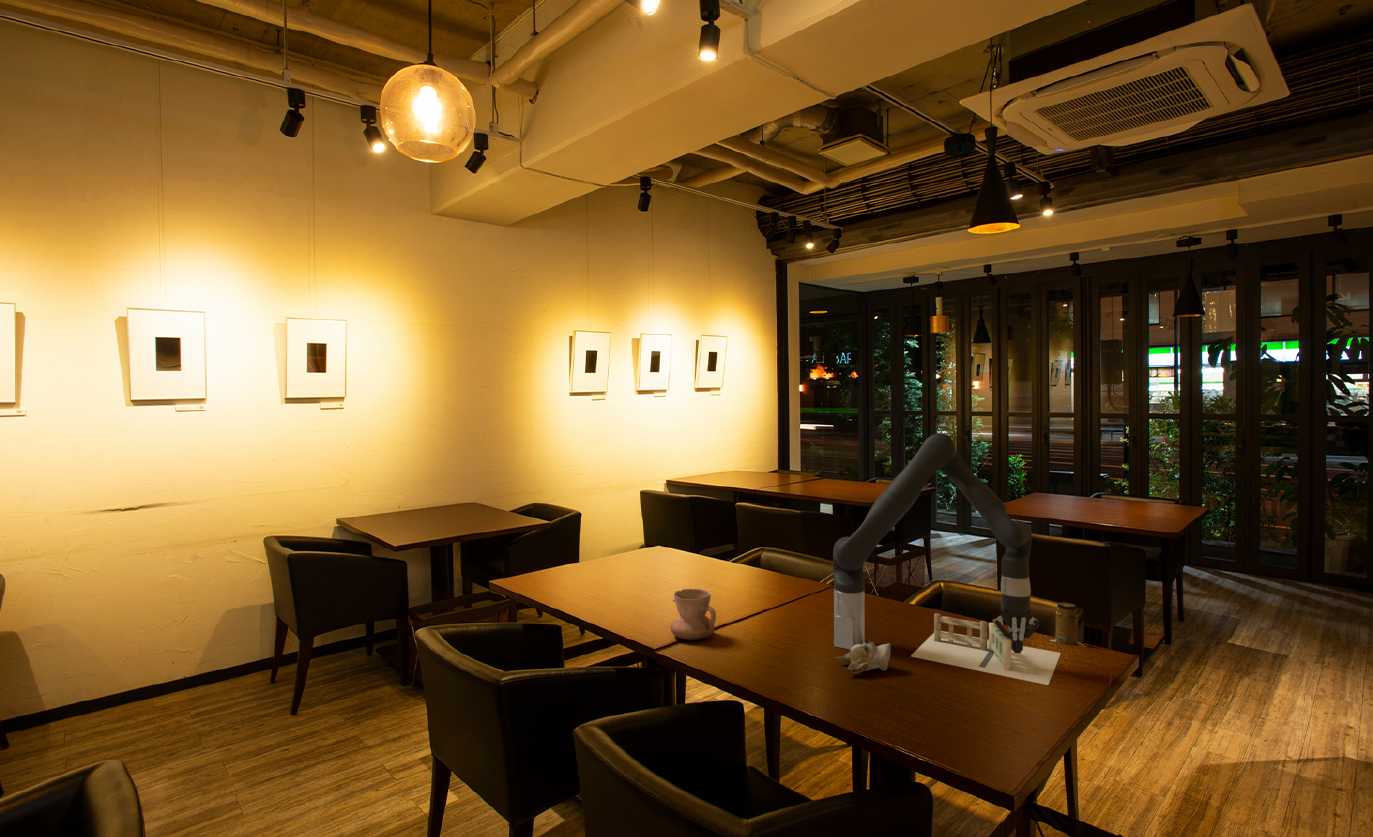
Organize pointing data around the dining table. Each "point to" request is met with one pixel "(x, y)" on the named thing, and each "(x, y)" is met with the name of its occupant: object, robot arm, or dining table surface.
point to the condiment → (1067, 624)
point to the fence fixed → (953, 637)
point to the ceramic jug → (693, 614)
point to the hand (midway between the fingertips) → (1016, 652)
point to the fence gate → (1000, 646)
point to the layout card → (991, 659)
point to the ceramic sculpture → (866, 657)
